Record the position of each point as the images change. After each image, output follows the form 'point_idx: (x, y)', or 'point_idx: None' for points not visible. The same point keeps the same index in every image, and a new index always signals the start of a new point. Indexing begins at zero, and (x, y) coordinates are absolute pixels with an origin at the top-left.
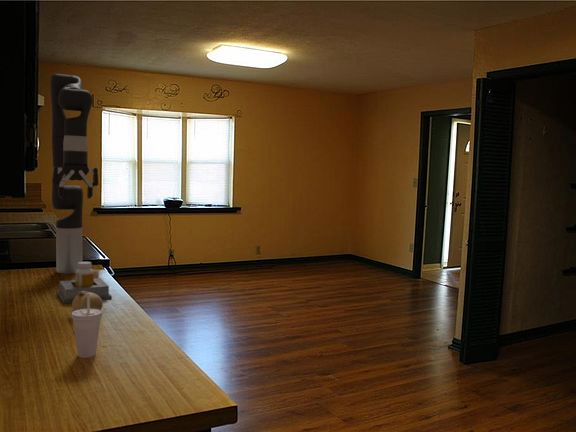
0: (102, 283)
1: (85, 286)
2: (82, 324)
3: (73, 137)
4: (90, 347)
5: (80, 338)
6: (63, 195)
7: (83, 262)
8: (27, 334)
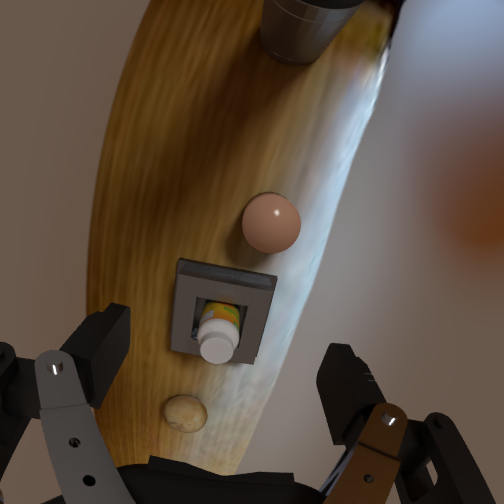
0: (252, 340)
1: None
2: None
3: None
4: None
5: None
6: (120, 363)
7: (214, 349)
8: (113, 418)
